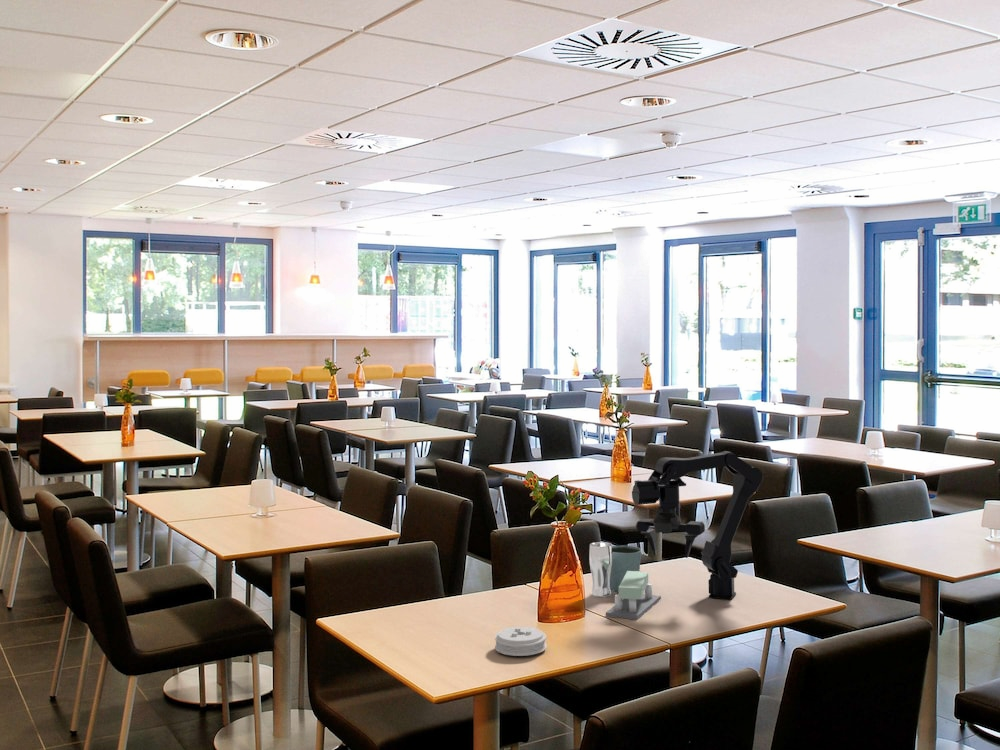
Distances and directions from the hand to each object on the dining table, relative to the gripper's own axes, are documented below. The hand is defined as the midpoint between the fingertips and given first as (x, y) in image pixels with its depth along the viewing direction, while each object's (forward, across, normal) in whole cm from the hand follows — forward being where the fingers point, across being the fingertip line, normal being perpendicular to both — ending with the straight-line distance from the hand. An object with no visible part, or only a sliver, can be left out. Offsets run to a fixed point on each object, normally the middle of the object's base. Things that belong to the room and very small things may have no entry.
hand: (671, 556), depth 264 cm
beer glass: (+13, -21, -1) cm, 25 cm away
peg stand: (+13, -8, -10) cm, 18 cm away
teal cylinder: (+13, -17, +8) cm, 23 cm away
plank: (+8, -8, -10) cm, 15 cm away
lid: (+13, -22, -54) cm, 60 cm away
